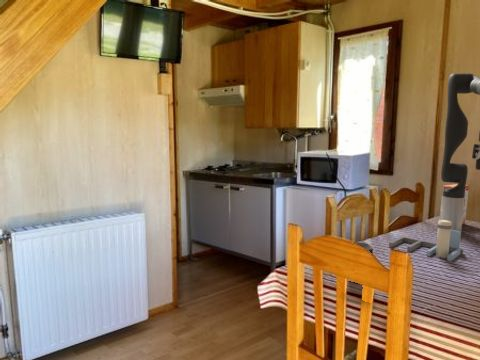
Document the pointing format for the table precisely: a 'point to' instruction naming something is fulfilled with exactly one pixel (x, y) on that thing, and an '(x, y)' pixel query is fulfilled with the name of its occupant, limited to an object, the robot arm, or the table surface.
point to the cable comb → (433, 244)
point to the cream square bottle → (443, 238)
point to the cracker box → (464, 199)
